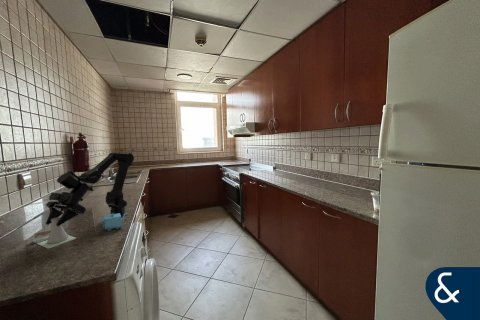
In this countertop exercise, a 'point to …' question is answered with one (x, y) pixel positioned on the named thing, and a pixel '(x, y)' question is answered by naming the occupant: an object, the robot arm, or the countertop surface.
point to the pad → (50, 245)
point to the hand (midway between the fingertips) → (52, 225)
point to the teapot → (113, 221)
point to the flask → (56, 232)
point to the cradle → (39, 238)
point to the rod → (42, 232)
